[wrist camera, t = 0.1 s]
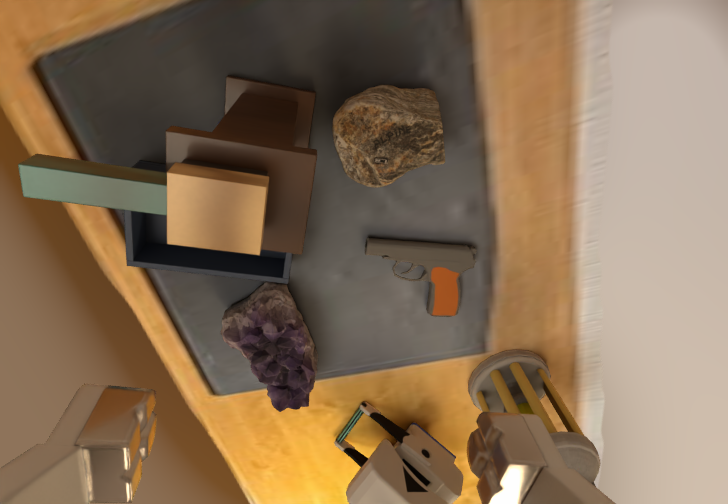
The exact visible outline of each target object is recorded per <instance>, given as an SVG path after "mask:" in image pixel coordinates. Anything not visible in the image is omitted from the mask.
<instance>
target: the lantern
mask: <svg viewBox="0 0 728 504" xmlns="http://www.w3.org/2000/svg"><path fill="white" fill-rule="evenodd" d="M550 378H551V375H550V372H549V369H548V366H547V365H546V363H545V362H544V361H543V360H542V359H541V358H540V357H539V355H537V354H535V353H532V352H530V351H526V350H517V349H516V350H509V351H503V352H501V353H498V354H495V355H493V356H491V357H489V358H488V359H486V360H485V361H483V362H482V363H480V364H479V366H478V367H477V368H476V369H475V370H474V371H473V373H472V375H471V377H470V380H469V382H468V391H469V394H470V397H471V399H472V401H473V403H474V405H475V406H476V407H478V408H479V409H480V410H481V411H483V412H500V413H516V414H532V415H537V416H539V417H540V418H541V420H542V422H543V424H544V425H545V427H546V429H547V431H548V433H549V434H550V436H551V438H552V440H553V442H554V444H555V445H556V447H557V449H558V451H559V453H560V454H561V456H562V458H563V460H564V462H565V464H566V465H567V467H568V468H571V469H574V470H576V471H577V472H578V473H579V474H580V475H582V476H583V477H584V478H585V479H586V480H588V481H589V482H590V483H591V484H592V485H594V486H595V484H594V480H595V479H596V476H597V474H598V472H599V468H600V459H599V455H598V452H597V450H596V448H595V446H594V445H593V443H592V442H591V441H590V440H589V439H588V438H587V437H586V436H584V434H583V433H582V431H581V430H580V428H579V426H578V425H577V423H576V422H575V420H574V418H573V417H572V415H571V413H570V412H569V410H568V409H567V407H566V405H565V404H564V402H563V401H562V399H561V397H560V396H559V394H558V393H557V391H556V389H555V388H554V386H553V384H552V383H551V381H550ZM545 393H546V395H547V396H548V398H549V400H550V402H551V403H552V405H553V407H554V408H555V410H556V412H557V413H558V415H559V417H560V419H561V420H562V422H563V424H564V425H565V427H566V429H567V430H568V432H557V430H556V428H555V427H554V425H553V423H552V421H551V419H550V418H549V416H548V414H547V412H546V411H545V409H544V407H543V405H542V404H541V402H540V400H541V399H542V398H543V397H544V395H545ZM595 487H596V486H595Z"/></svg>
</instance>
